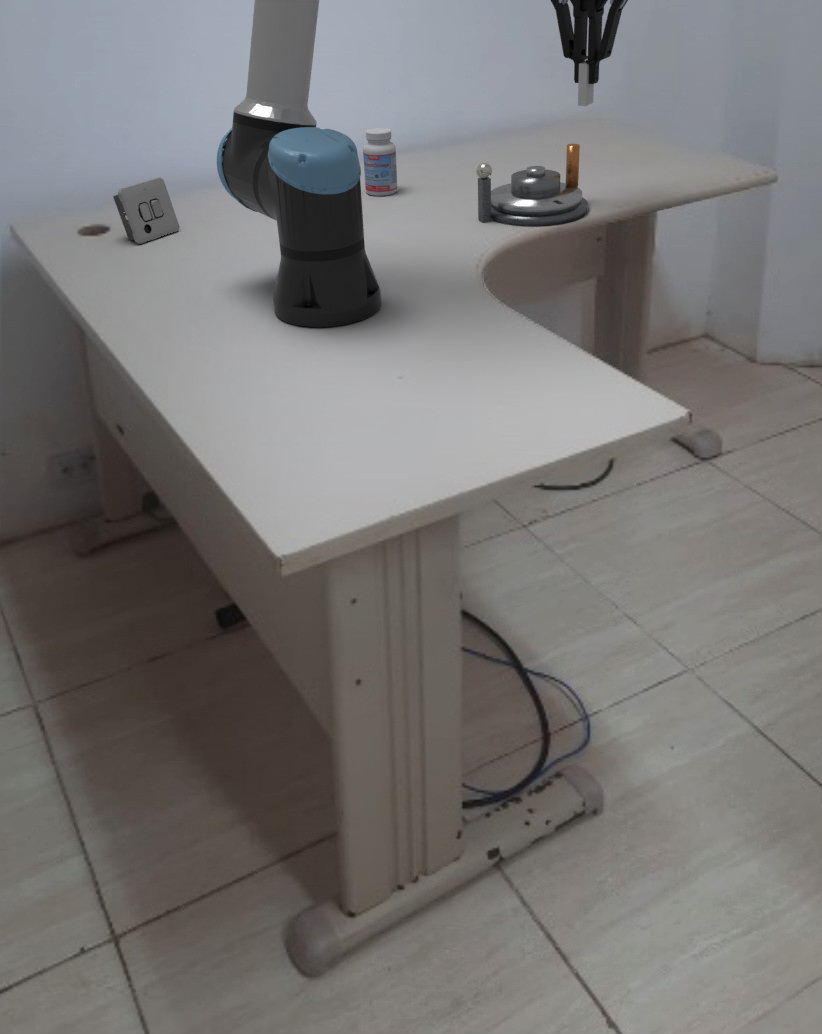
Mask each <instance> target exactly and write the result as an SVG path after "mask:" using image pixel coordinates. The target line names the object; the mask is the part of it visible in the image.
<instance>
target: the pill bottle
mask: <svg viewBox="0 0 822 1034" xmlns="http://www.w3.org/2000/svg"><path fill="white" fill-rule="evenodd" d="M365 138H366V141H367V142H366V143H365V144H364V146H363V151H362V154H363V169H364V185H365V192H366V193H367V194H368V195H369V196H373V197H385V196H390V195H394V194H395V193H396V192H397V191H398V176H397V175H398V174H397V170H398V168H397V152H396V145H395V144H394V143H393V142H392V141H391V140H392V130H391V129H390V128H386V127H376V128H375V127H374V128H369V129H367V130H365Z"/></svg>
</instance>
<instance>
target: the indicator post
mask: <svg viewBox="0 0 822 1034" xmlns="http://www.w3.org/2000/svg"><path fill="white" fill-rule="evenodd" d="M492 173H493V168H492V166H491V164H489V163H487V162H481V163H480V164H478V165H477V168H476V176H477V213H478V214H477V215H478V216H477V217H478V218H477V219H478V220H479V222H480V223H489V222H491V221H492V220H491V191H492V178H491V176H492ZM488 221H489V222H488Z"/></svg>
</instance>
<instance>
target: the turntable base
mask: <svg viewBox="0 0 822 1034" xmlns="http://www.w3.org/2000/svg"><path fill="white" fill-rule="evenodd" d="M588 208H589V207H588V200H587V199H586V198H585V197H583V196H582V203H581V205H580V206H578V207H577V208H575V209H573V210H570V211H566V212H562V213H557V214H550V215H516V214H509V213H504V212H501V211H498V210H495V209H494V208H492V207H491V221H493V222H495V221H496V223H501V224H504V225H508V224H509V226H516V227H517V226H519V227H547V226H548V227H549V226H556V225H562V224H568V223H571V222H574V221H577V220H580V219H582V218H583V217H584V216H585V215H586V214H587V213H588Z"/></svg>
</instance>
